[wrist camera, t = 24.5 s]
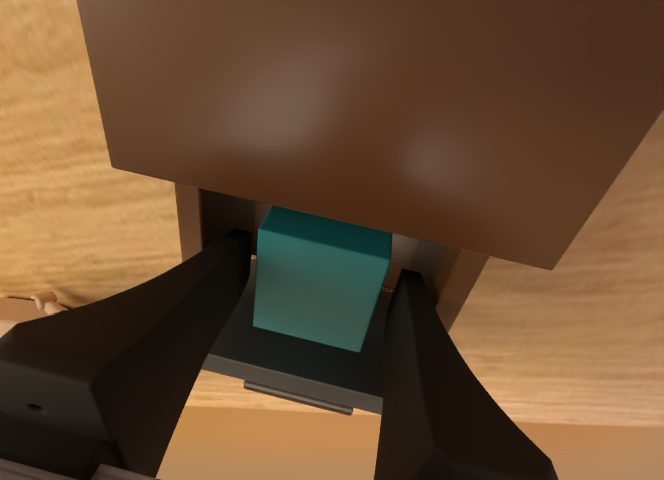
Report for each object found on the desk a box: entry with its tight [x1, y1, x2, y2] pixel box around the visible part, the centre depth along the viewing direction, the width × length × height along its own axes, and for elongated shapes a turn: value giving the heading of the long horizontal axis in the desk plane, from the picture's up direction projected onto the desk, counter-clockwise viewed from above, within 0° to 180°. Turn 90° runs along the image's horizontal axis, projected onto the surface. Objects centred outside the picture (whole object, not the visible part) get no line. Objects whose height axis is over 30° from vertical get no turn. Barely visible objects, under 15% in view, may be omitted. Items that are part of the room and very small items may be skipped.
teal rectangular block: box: [253, 205, 393, 352], centre depth 14 cm, size 4×4×5 cm
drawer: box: [174, 182, 489, 416], centre depth 16 cm, size 18×10×6 cm, turn 171°
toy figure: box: [0, 291, 68, 338], centre depth 24 cm, size 7×6×15 cm
